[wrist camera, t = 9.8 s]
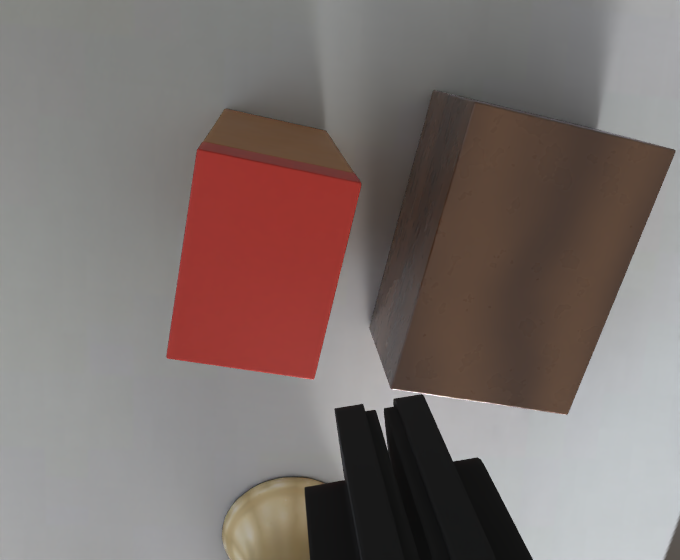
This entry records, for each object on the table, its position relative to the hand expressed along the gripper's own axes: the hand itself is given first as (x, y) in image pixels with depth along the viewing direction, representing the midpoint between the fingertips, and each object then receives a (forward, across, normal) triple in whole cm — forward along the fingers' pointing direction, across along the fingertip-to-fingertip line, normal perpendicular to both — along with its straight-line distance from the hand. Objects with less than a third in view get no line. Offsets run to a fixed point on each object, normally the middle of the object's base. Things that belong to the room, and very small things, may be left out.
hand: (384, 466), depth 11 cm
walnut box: (+21, -9, +3) cm, 23 cm away
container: (+20, -1, 0) cm, 20 cm away
